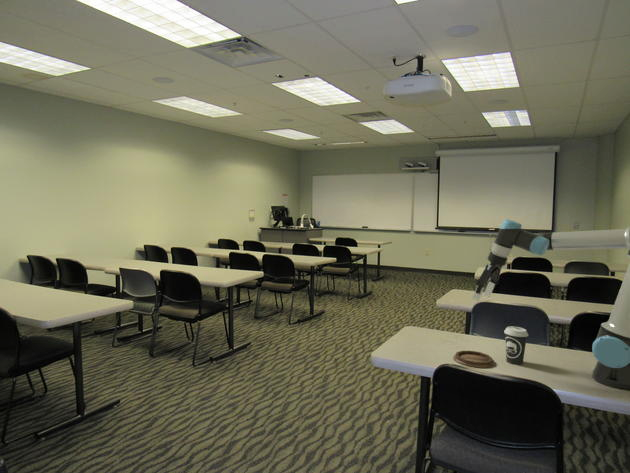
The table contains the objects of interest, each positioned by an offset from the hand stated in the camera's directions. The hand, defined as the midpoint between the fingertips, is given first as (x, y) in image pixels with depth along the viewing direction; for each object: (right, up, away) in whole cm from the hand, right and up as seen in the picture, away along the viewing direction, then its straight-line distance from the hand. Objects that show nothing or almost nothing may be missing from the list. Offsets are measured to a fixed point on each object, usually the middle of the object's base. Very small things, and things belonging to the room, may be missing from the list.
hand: (481, 297), depth 181 cm
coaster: (-4, -28, -2) cm, 28 cm away
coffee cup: (+14, -29, -2) cm, 32 cm away
